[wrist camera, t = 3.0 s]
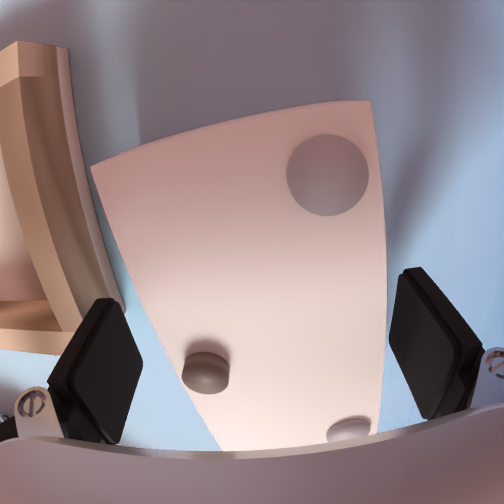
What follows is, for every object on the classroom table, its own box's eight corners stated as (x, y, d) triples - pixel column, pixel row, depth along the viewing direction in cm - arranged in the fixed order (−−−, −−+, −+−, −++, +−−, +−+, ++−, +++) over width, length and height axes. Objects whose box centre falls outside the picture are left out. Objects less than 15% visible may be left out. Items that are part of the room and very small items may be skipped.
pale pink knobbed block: (143, 144, 10) (79, 171, 6) (330, 101, 10) (378, 99, 6) (234, 398, 16) (229, 471, 12) (357, 377, 15) (377, 449, 11)
